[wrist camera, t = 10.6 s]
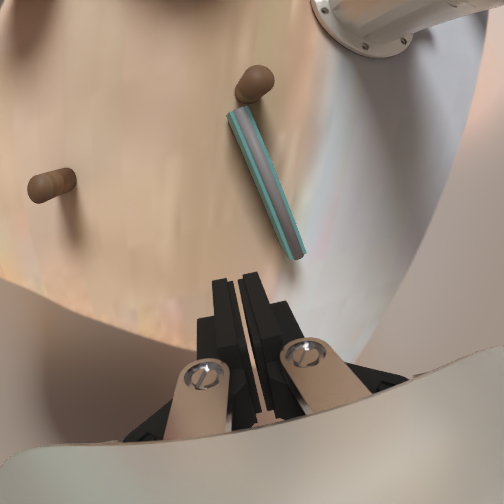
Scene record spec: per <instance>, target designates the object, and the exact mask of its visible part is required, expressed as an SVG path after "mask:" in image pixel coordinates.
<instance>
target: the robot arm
mask: <svg viewBox="0 0 504 504" xmlns="http://www.w3.org/2000/svg"><path fill="white" fill-rule="evenodd" d="M311 4H312V8H313V10H314V13H315V15H316V17H317V19H318V20H319V22H320V23H321V25H322V27H323V28H324V29H325V30H326V31H327V32H328V33H329V34H330V36H332V37H333V38H334V39H335V40H336V41H337V42H339V43H340V44H341V45H343V46H344V47H346V48H347V49H349V50H351V51H353V52H355V53H357V54H360V55H363V56H367V57H372V58H387V57H390V56H394V55H396V54H399V53H401V52H402V51H404V50H405V49H406V48H407V47H408V45H409V44H410V43H411V41H412V38H413V35H414V33H415V32H418V31H420V30H423V29H426V28H429V27H432V26H435V25H438V24H441V23H444V22H447V21H450V20H453V19H456V18H459V17H463V16H466V15H470V14H473V13H477V12H481V11H484V10H488V9H492V8H496V7H499V6H502V5H504V0H311ZM322 12H323V13H324V14H323V13H322ZM238 284H239V289H240V294H241V299H242V304H243V309H244V314H245V319H246V324H247V328H248V333H249V338H250V343H251V347H252V351H253V355H254V359H255V363H256V368H257V371H258V376H259V380H260V384H261V388H262V391H263V396H264V400H265V404H266V408H267V411H270V410H274V413H275V417H276V419H277V418H281V419H284V421H280V422H276V423H272V424H266V425H262V426H257V427H252V426H253V425H254V423H258V422H257V418H256V413H260V412H262V410H261V406H260V402H259V398H258V393H257V389H256V385H255V381H254V375H253V371H252V367H251V362H250V358H249V353H248V349H247V344H246V340H245V335H244V330H243V326H242V321H241V317H240V312H239V307H238V303H237V298H236V293H235V288H234V283H233V281H229V282H227V278H224V279H219V280H214V281H212V291H213V305H214V316H210V317H204V318H199V319H197V361H195V362H192V363H191V364H189V365H187V366H186V367H185V368H184V369H183V370H182V372H181V373H180V375H179V378H178V382H177V386H176V390H175V394H174V397H173V399H172V400H170V401H169V402H168V403H167V404H166V405H164V406H163V407H162V408H161V409H159V410H158V411H157V412H156V413H155V414H153V415H152V416H151V417H150V418H148V419H147V420H146V421H145V422H143V423H142V424H141V425H140V426H139V427H137V428H136V429H135V430H133V431H132V432H131V433H130V434H128V435H127V436H126V438H125V439H124V440H123V442H121V443H118V441H117V440H113V441H109V442H104V443H94V444H93V443H91V444H54V445H45V446H39V447H34V448H30V449H27V450H23V451H21V452H18V453H16V454H14V455H12V456H10V457H9V458H8V459H6V460H5V461H4V463H3V464H2V465H1V467H0V504H504V346H498V347H491V348H488V349H485V350H481V351H477V352H475V353H472V354H470V355H467V356H465V357H462V358H459V359H457V360H455V361H453V362H451V363H448V364H446V365H444V366H441V367H439V368H437V369H434V370H432V371H430V372H426V373H421V374H417V375H413V379H411V380H409V379H407V378H405V377H403V376H400V375H396V374H392V373H387V372H383V371H378V370H374V369H370V368H366V367H362V366H358V365H354V364H350V363H346V362H344V361H343V360H342V359H341V358H340V357H339V356H338V355H337V354H336V352H335V351H334V350H333V349H332V348H331V347H330V346H329V345H328V344H327V343H326V342H325V341H323V340H320V339H318V338H311V337H309V338H304V336H303V333H302V331H301V329H300V327H299V325H298V323H297V321H296V319H295V317H294V315H293V313H292V311H291V309H290V307H289V305H288V303H287V301H281V302H277V303H272V304H270V303H269V301H268V298H267V295H266V293H265V290H264V288H263V285H262V283H261V280H260V278H259V275H258V273H257V272H253V273H248V274H243V279H239V280H238ZM251 427H252V428H251Z"/></svg>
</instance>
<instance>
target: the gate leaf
mask: <svg viewBox="0 0 504 504" xmlns="http://www.w3.org/2000/svg"><path fill="white" fill-rule="evenodd" d="M226 117H227V119H228V121H229V124H230V126H231V128H232V130H233V133H234V135H235V137H236V140H237V142H238V144H239V147H240V149H241V151H242V154H243V156H244V158H245V161H246V163H247V165H248V168H249V170H250V173H251V175H252V177H253V180H254V182H255V184H256V187H257V189H258V192H259V194H260V196H261V199H262V201H263V204H264V206H265V209H266V211H267V213H268V216H269V218H270V221H271V223H272V226H273V228H274V231H275V233H276V236H277V238H278V240H279V243H280V245H281V248H282V249H283V251H284V252H285V253H286V255H287V256H288V257H289V259H290V260H293V259H294V260H298V259H301V258H302V257H303V256H304V254H306V250H305V247H304V245H303V242H302V239H301V237H300V234H299V231H298V228H297V226H296V223H295V220H294V218H293V215H292V213H291V210H290V207H289V205H288V202H287V200H286V197H285V194H284V192H283V189H282V187H281V184H280V182H279V179H278V177H277V174H276V172H275V169H274V167H273V164H272V162H271V159H270V157H269V154H268V152H267V149H266V147H265V144H264V142H263V140H262V137H261V135H260V132H259V130H258V128H257V125H256V123H255V121H254V118H253V116H252V114H251V111H250V109H249V107H248V105H247V106H243V107H240V108H238V109H236V110H233V111H231V112H229V113H228V114H227V116H226Z"/></svg>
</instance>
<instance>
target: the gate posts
mask: <svg viewBox="0 0 504 504" xmlns="http://www.w3.org/2000/svg"><path fill="white" fill-rule="evenodd" d="M274 81H275V80H274V75H273V73H272V72H271V71H270V70H269V69H268V68H267V67H265V66H261V65H255V66H252V67H250V68H248V69H247V70H246V71H245V73H244V74H243V76H242V77H241V79H240V81H239V82H238V84H237V86H236V88H235V96H236V98H237V99H238V100H239V101H240V102H242V103H245V104H251V103H253V102H255V101H257V100H258V99H259V98H261V97H262V96H263V95H265V94H266V93H267V92H269V91H270V90H271V89H272V87H273V85H274ZM75 184H76V175H75V173H74V171H73V170H72V169H70V168H62V169H58V170H54V171H50V172H46V173H43V174H39V175H35V176H33V177H32V178H31V179H30V181H29V183H28V187H27V191H28V195H29V198H30V199H31V200H32V201H33V202H34V203H37V204H40V203H43V202H46V201H48V200H50V199H52V198H54V197H57V196H59V195H61V194H63V193H66V192H68V191H70V190H72V189H73V188H74V186H75Z"/></svg>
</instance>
